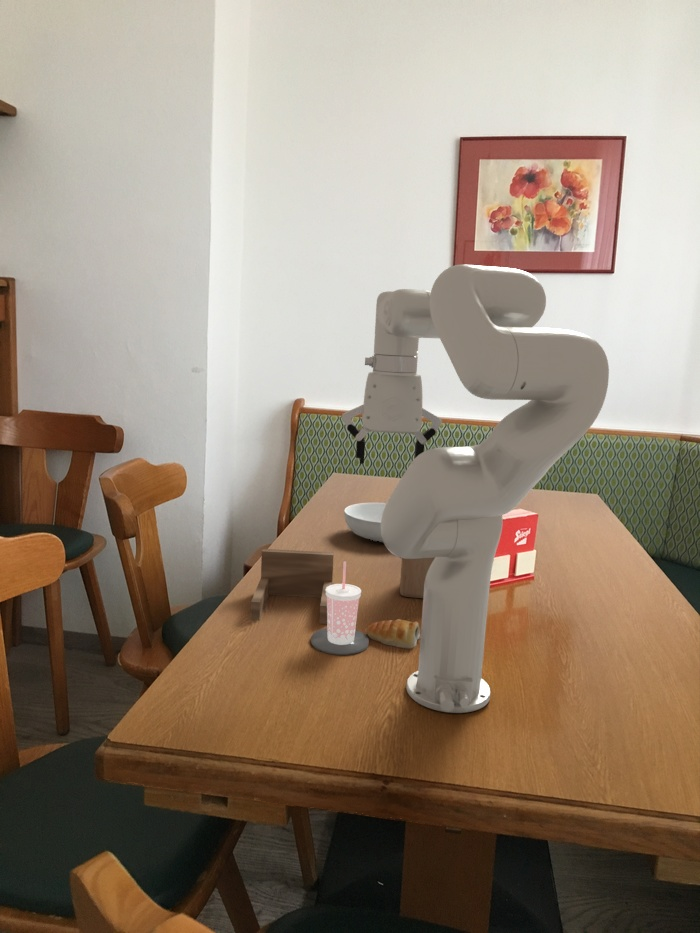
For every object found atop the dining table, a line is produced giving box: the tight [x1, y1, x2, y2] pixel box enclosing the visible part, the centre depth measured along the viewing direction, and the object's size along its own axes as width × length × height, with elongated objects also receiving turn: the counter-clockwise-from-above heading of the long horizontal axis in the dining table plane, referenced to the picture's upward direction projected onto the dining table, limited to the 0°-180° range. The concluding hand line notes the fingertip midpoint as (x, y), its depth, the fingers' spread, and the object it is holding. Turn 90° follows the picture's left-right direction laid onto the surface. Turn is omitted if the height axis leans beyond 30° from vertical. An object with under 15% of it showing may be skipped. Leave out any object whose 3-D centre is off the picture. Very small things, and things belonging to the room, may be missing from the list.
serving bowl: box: [343, 502, 387, 543], centre depth 193 cm, size 21×21×7 cm
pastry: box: [365, 618, 421, 649], centre depth 132 cm, size 9×7×4 cm
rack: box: [250, 548, 334, 625], centre depth 144 cm, size 15×14×9 cm
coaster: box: [310, 627, 370, 656], centre depth 130 cm, size 10×10×1 cm
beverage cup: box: [325, 561, 362, 645], centre depth 128 cm, size 6×6×14 cm
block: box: [399, 557, 435, 599], centre depth 154 cm, size 10×10×20 cm
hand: (389, 463), depth 132 cm, fingers open, 9 cm apart
